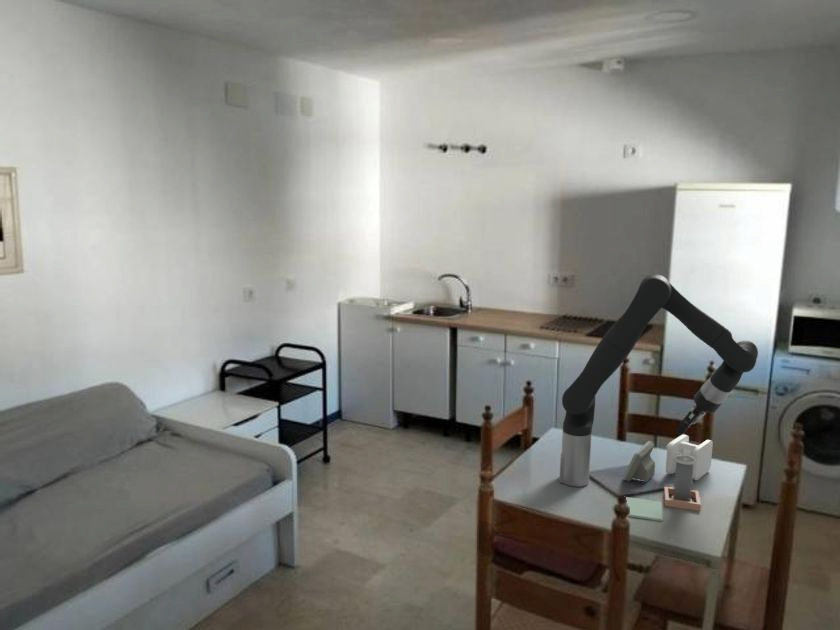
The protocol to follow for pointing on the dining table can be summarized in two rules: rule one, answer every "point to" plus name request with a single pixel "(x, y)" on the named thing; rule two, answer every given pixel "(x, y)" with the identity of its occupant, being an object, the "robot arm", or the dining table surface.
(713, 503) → the dining table surface
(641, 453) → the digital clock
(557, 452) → the dining table surface
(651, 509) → the green mat
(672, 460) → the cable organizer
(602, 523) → the dining table surface
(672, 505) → the tie collar
